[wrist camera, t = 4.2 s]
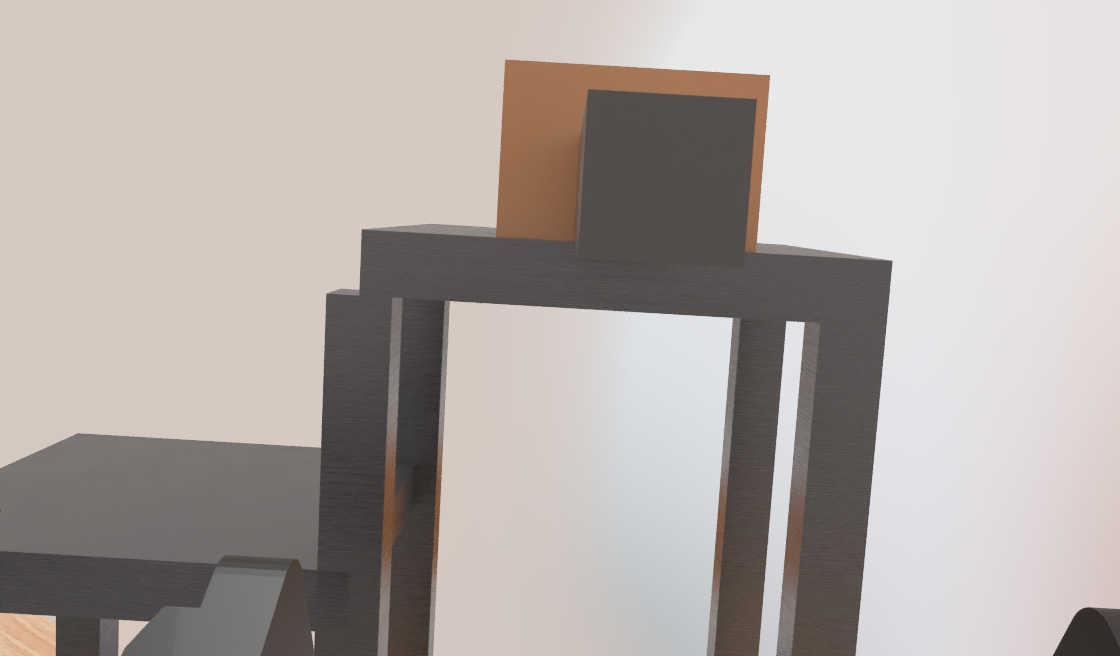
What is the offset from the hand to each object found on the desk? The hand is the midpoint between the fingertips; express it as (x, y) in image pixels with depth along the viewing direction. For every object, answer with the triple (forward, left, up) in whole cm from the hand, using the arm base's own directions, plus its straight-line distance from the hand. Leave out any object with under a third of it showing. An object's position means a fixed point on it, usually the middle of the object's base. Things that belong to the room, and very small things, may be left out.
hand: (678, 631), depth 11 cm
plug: (-10, +8, +4) cm, 14 cm away
